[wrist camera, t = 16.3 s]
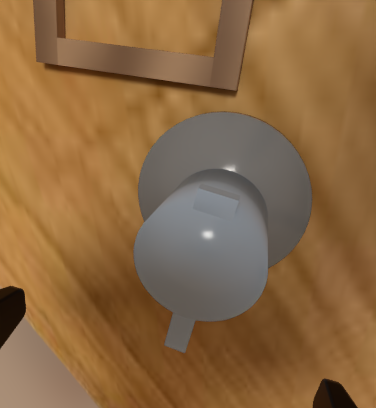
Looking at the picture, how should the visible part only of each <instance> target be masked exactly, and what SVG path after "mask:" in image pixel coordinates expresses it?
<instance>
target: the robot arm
mask: <svg viewBox="0 0 376 408" xmlns="http://www.w3.org/2000/svg"><path fill="white" fill-rule="evenodd" d="M25 312H26V304H25V293H24V291H23V289H21V288H17V287H14V286H9V287H5V288H3V289H0V348H1V347H2V346H3V344H4V343H5V342H6V340H7V339H8V338H9V336H10V335H11V334H12V332H13V331H14V329H15V328H16V326H17V325H18V324H19V323H20V321H21V320H22V318H23V317H24V315H25ZM313 408H358V407H357V406H356V404H355V403H354V402H353V400H352V399H351V397H350V396H349V394H348V393H347V392H346V390H345V389H344V387H343V386H342V385H341V384H340V383H339V382H336V381H332V380H329V379H323V380H322V381H321V383H320V386H319V388H318V390H317V393H316V395H315V397H314V401H313Z"/></svg>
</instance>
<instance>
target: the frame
mask: <svg viewBox="0 0 376 408" xmlns="http://www.w3.org/2000/svg"><path fill="white" fill-rule="evenodd" d="M253 1H254V0H222V6H221V13H220V20H219V26H218V33H217V40H216V47H215V54H214V57H207V56H199V55H191V54H183V53H175V52H168V51H160V50H152V49H144V48H136V47H128V46H120V45H112V44H104V43H96V42H89V41H81V40H73V39H65V9H64V0H33V5H34V24H35V42H36V60H37V62H42V63H48V64H55V65H62V66H69V67H76V68H83V69H90V70H97V71H104V72H111V73H118V74H125V75H132V76H139V77H145V78H152V79H159V80H166V81H173V82H180V83H187V84H194V85H201V86H208V87H215V88H222V89H229V90H236V91H237V90H238V85H239V79H240V73H241V68H242V62H243V57H244V51H245V46H246V40H247V35H248V29H249V24H250V18H251V13H252V7H253Z"/></svg>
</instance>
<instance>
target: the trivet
mask: <svg viewBox="0 0 376 408" xmlns="http://www.w3.org/2000/svg"><path fill="white" fill-rule="evenodd" d="M207 169H225V170H229V171H233V172H235V173H238V174H240V175H242V176H244V177H245V178H247V179H248V180H249V181H251V182H252V183H253V184H254V185H255V186H256V188H257V189H258V190H259V191H260V193H261V194H262V196H263V198H264V200H265V203H266V206H267V211H268V268H269V267H271V266H273V265H275V264H276V263H278V262H279V261H281V260H282V259H283V258H285V257H286V256H287V255H288V254H289V253H290V252H291V251H292V250H293V249H294V247H295V246H296V245H297V243H298V242H299V241H300V239H301V237H302V235H303V234H304V232H305V229H306V227H307V224H308V222H309V218H310V213H311V207H312V190H311V184H310V179H309V175H308V172H307V170H306V167H305V165H304V162H303V161H302V159H301V157H300V155H299V153H298V152H297V150H296V149H295V147H294V146H293V145H292V144H291V142H290V141H289V140H288V139H287V138H286V137H285V136H284V135H283V134H282V133H281V132H279V131H278V130H277V129H275V128H274V127H273V126H271V125H269V124H268V123H266V122H264V121H262V120H260V119H257V118H255V117H252V116H250V115H246V114H241V113H237V112H225V111H224V112H210V113H205V114H200V115H197V116H195V117H192V118H189V119H186V120H184V121H182V122H180V123H178V124H176V125H175V126H174V127H172V128H171V129H169V130H168V131H167V132H165V133H164V134H163V135H162V136H161V137H160V138H159V139H158V140H157V142H156V143H155V144H154V145H153V146H152V148H151V150H150V151H149V153H148V155H147V156H146V159H145V161H144V163H143V166H142V169H141V173H140V178H139V185H138V197H139V205H140V209H141V213H142V217H143V219H144V222H145V221H146V220H147V219H148V218H149V217H150V216H151V215H152V214H153V212H154V211H155V210H156V209H157V208H158V207H159V206H160V205H161V204H162V203H163V202H164V201H165V200H166V199H167V197H168V196H169V195H170V194H171V193H172V192H173V191H174V190H175V189H176V188H177V187H178V186H179V185H180V184H181V182H182V181H184V180H185V179H186V178H187V177H189V176H190V175H192V174H194V173H196V172H199V171H202V170H207Z"/></svg>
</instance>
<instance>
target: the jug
mask: <svg viewBox="0 0 376 408" xmlns="http://www.w3.org/2000/svg"><path fill="white" fill-rule="evenodd" d="M134 263H135V267H136V271H137V274H138V276H139V278H140V281H141V282H142V284H143V286H144V287H145V289H146V290H147V291H148V293H149V294H150V295H151V296H152V297H153V298H154V299H155V300H156V301H157V302H158V303H160V304H161V305H162V306H164V307H165V308H166V309H168V310H170V311H172V312H173V315H172V318H171V322H170V326H169V329H168V333H167V336H166V340H165V344H164V345H165V346H167V347H170V348H172V349H175V350H177V351H180V352H183V353H185V352H186V348H187V345H188V342H189V339H190V336H191V333H192V330H193V327H194V323H195V320H197V321H206V322H209V321H222V320H226V319H230V318H233V317H236V316H238V315H240V314H242V313H244V312H245V311H246V310H248V309H249V308H251V307H252V306H253V305H254V304H255V303H256V301H257V300H258V299H259V297H260V296H261V294H262V292H263V290H264V288H265V285H266V282H267V276H268V211H267V206H266V203H265V200H264V198H263V196H262V194H261V193H260V191H259V190H258V189H257V188H256V186H255V185H254V184H253V183H252V182H251V181H249V180H248V179H247V178H245V177H244V176H242V175H240V174H238V173H235V172H233V171H229V170H225V169H207V170H202V171H199V172H196V173H194V174H192V175H190V176H189V177H187V178H186V179H185V180H184V181H182V182H181V184H180V185H179V186H178V187H177V188H176V189H175V190H174V191H173V192H172V193H171V194H170V195H169V196H168V197H167V199H166V200H165V201H164V202H163V203H162V204H161V205H160V206H159V207H158V208H157V209H156V210H155V211H154V212H153V214H152V215H151V216H150V217H149V218H148V219H147V220H146V221H145V222H144V223H143V225H142V227H141V228H140V230H139V232H138V234H137V237H136V240H135V244H134Z"/></svg>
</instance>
